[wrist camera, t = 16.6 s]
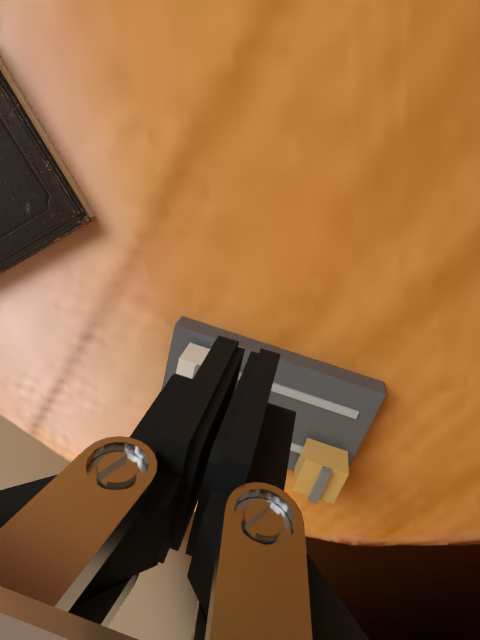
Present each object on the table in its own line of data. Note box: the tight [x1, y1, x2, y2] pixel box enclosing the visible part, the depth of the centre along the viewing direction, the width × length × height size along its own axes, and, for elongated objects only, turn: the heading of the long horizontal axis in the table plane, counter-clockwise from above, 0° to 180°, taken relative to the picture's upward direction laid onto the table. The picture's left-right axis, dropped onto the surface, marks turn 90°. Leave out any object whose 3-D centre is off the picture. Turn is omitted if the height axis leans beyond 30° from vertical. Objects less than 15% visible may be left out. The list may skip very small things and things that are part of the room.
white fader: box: [176, 343, 210, 379], centre depth 38 cm, size 4×4×4 cm
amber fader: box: [292, 438, 349, 504], centre depth 39 cm, size 4×4×4 cm
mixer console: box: [162, 316, 386, 471], centre depth 41 cm, size 20×12×2 cm, turn 75°
